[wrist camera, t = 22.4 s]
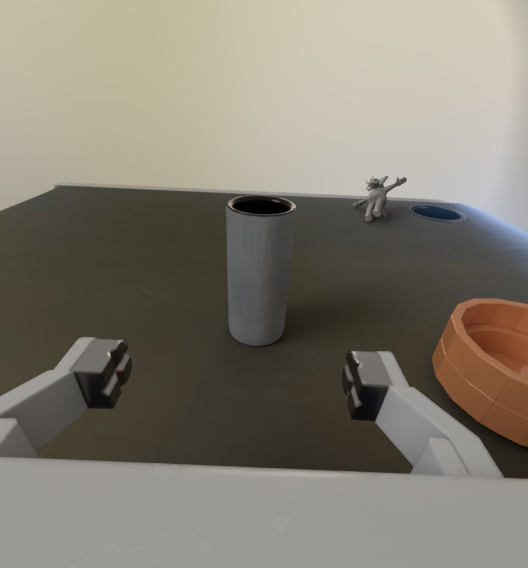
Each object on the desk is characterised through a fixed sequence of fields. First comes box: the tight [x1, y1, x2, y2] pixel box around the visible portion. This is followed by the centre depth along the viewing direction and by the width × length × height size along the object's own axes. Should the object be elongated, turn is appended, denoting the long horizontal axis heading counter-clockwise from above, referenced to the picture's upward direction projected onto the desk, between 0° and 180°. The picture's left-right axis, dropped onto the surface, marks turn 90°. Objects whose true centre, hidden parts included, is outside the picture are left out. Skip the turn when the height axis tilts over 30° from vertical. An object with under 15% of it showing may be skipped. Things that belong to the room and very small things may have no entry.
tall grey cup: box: [226, 195, 296, 346], centre depth 22 cm, size 4×4×10 cm
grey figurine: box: [353, 176, 407, 222], centre depth 50 cm, size 10×6×9 cm
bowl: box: [432, 299, 528, 447], centre depth 19 cm, size 9×9×4 cm
